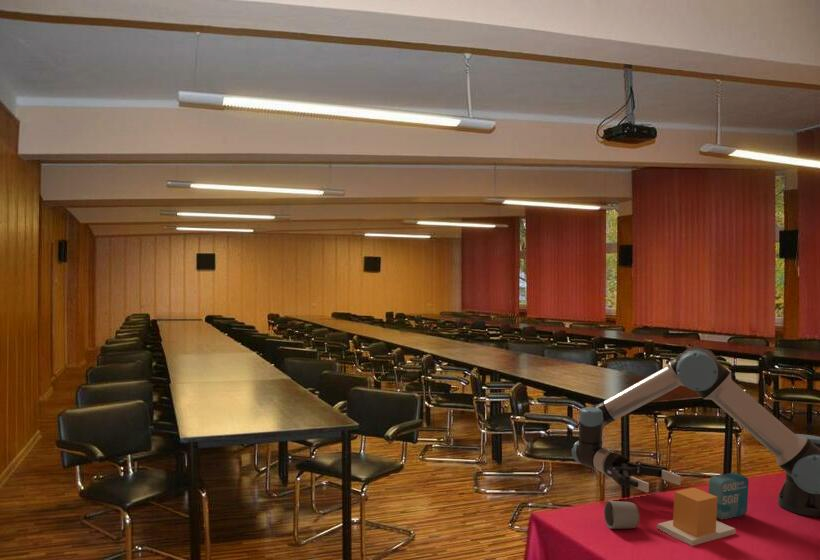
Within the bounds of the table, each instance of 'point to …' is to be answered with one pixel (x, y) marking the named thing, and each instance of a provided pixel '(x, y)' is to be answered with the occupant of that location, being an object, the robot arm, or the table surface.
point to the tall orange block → (695, 511)
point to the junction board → (720, 532)
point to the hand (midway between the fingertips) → (664, 484)
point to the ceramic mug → (621, 515)
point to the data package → (730, 494)
